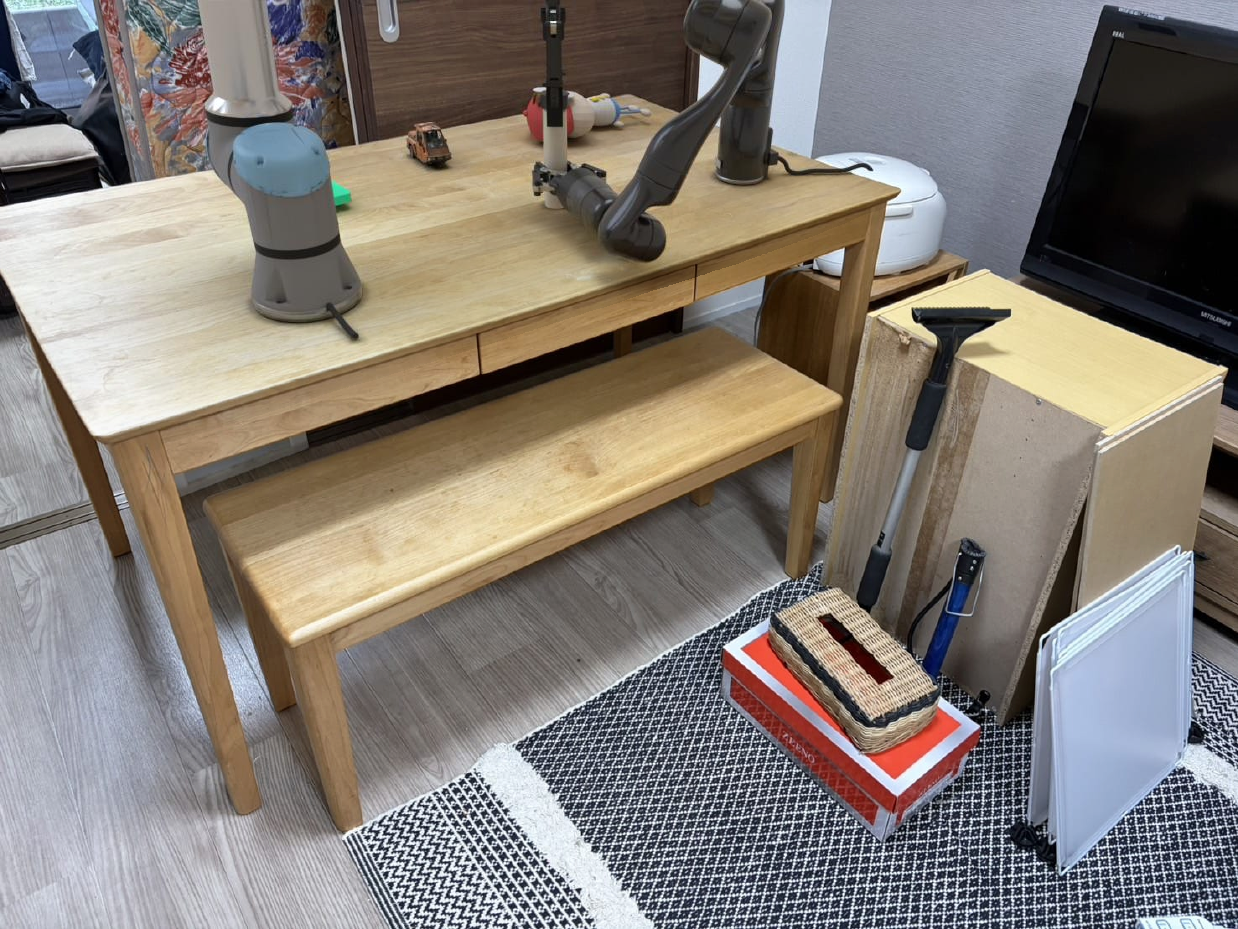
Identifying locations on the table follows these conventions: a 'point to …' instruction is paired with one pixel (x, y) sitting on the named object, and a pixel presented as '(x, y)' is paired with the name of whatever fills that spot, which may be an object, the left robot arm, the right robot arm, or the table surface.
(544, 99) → the lid
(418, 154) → the toy car
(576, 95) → the toy
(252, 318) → the table surface
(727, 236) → the table surface
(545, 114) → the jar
